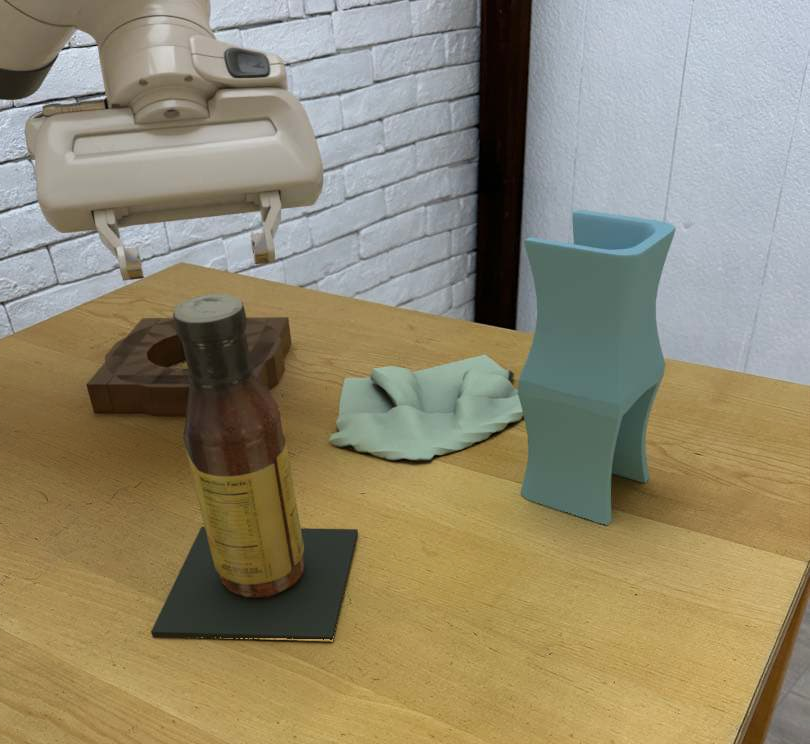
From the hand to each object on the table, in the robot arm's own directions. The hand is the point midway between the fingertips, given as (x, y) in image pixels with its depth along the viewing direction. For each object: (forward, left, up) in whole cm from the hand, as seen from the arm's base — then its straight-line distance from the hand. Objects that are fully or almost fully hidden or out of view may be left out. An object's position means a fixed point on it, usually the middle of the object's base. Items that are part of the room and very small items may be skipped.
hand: (199, 268), depth 65 cm
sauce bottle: (+5, -14, -17) cm, 23 cm away
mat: (+5, -14, -18) cm, 23 cm away
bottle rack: (-9, +19, -18) cm, 28 cm away
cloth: (+16, +13, -18) cm, 28 cm away
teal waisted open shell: (+28, -1, -18) cm, 33 cm away
